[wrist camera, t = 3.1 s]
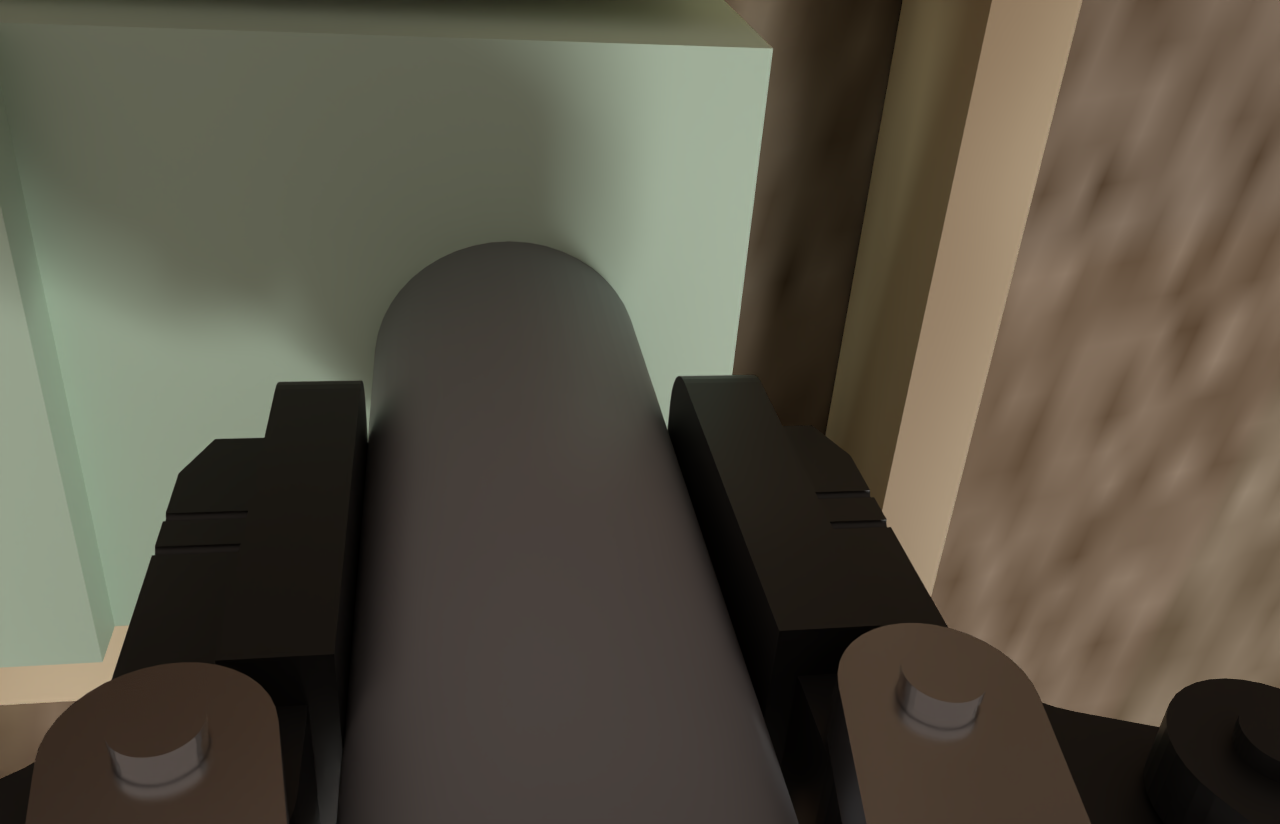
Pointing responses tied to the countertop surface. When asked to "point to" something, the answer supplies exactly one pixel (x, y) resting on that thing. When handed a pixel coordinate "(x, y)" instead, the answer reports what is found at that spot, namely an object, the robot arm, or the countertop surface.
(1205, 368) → the countertop surface
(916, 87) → the wooden rectangular frame
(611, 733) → the striker
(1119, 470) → the countertop surface
